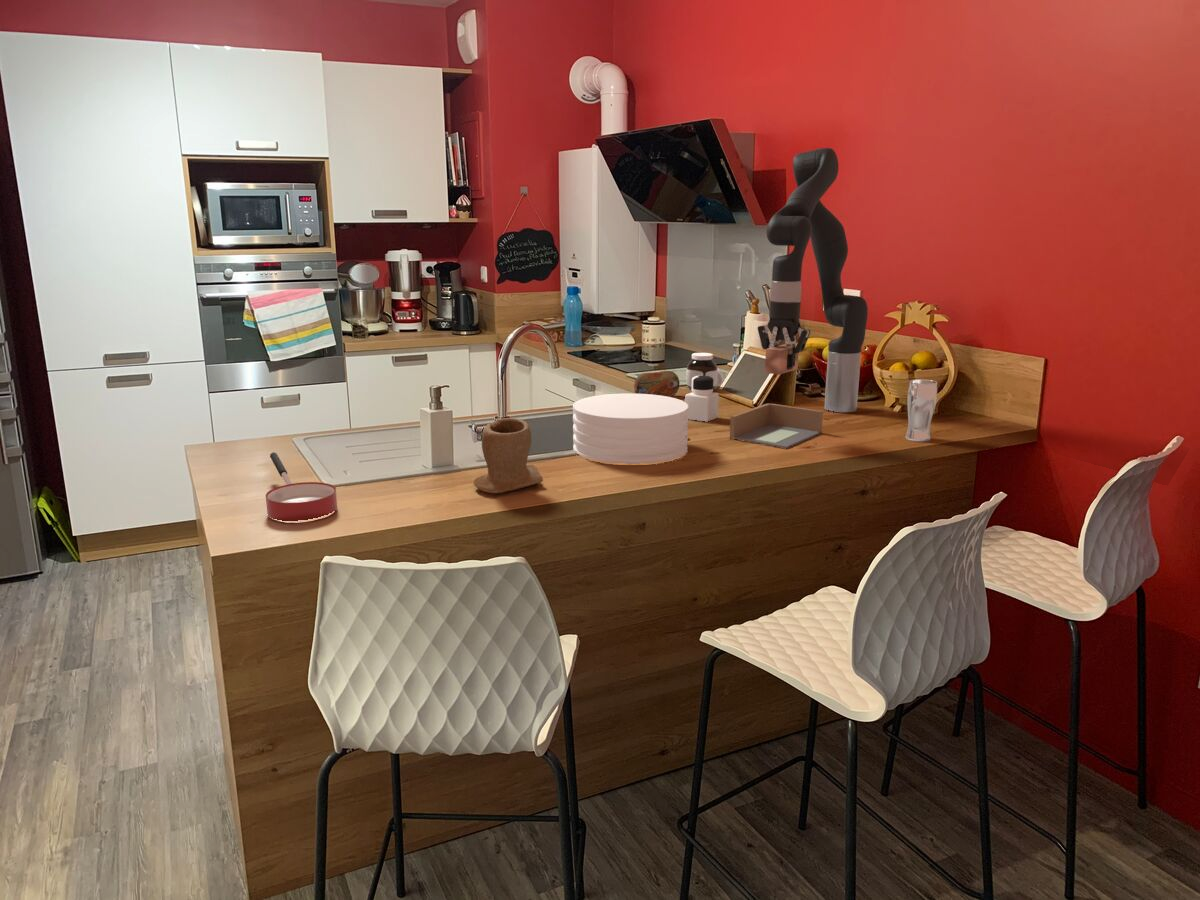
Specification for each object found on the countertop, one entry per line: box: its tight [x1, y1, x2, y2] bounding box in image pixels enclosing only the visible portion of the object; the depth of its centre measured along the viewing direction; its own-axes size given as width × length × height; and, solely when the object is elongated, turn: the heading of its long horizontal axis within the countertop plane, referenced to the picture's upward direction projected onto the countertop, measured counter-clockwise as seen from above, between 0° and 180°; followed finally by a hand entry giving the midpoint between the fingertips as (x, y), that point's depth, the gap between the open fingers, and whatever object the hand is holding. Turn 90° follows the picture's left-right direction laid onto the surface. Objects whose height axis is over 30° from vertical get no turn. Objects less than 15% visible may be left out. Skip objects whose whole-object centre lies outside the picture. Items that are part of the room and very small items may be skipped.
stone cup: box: [473, 417, 544, 494], centre depth 189 cm, size 15×12×15 cm
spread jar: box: [685, 352, 724, 390], centre depth 293 cm, size 12×11×12 cm
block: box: [764, 343, 799, 375], centre depth 226 cm, size 4×10×6 cm, turn 142°
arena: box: [729, 402, 824, 449], centre depth 233 cm, size 20×16×6 cm
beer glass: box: [905, 378, 938, 443], centre depth 229 cm, size 7×7×15 cm
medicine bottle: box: [684, 376, 720, 423], centre depth 252 cm, size 7×7×12 cm
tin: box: [633, 370, 680, 398], centre depth 279 cm, size 15×3×8 cm, turn 115°
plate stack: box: [572, 393, 689, 464], centre depth 219 cm, size 28×28×12 cm
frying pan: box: [265, 452, 338, 521], centre depth 182 cm, size 32×13×6 cm, turn 36°
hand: (781, 367), depth 227 cm, fingers closed on block, 4 cm apart
